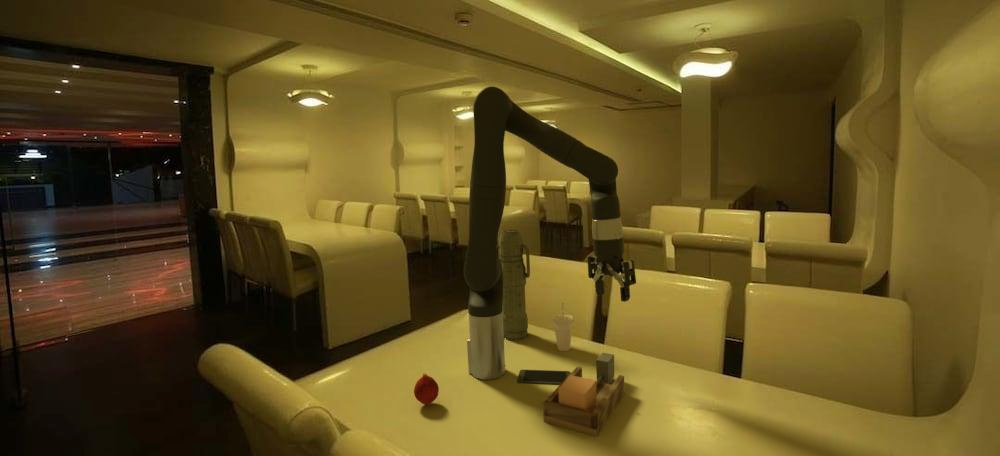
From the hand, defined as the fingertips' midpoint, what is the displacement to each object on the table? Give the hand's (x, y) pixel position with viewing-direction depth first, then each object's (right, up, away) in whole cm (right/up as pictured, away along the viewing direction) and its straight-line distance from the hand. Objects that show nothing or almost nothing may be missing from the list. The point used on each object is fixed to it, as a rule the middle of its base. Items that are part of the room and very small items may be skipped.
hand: (612, 297), depth 118 cm
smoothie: (-10, -19, +22) cm, 30 cm away
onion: (-46, -25, -8) cm, 53 cm away
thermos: (-24, -18, +34) cm, 46 cm away
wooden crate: (-9, -23, -12) cm, 28 cm away
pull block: (-7, -22, -9) cm, 25 cm away
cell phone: (-17, -22, +3) cm, 28 cm away
